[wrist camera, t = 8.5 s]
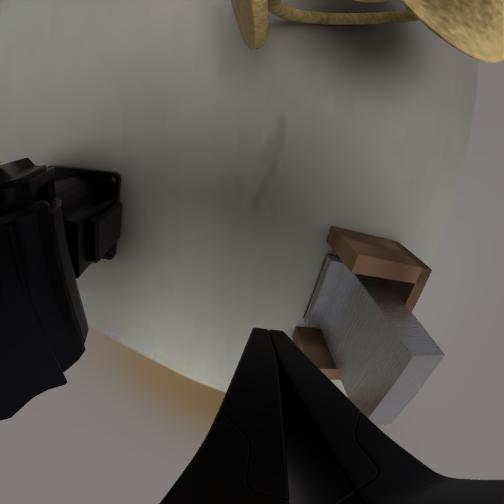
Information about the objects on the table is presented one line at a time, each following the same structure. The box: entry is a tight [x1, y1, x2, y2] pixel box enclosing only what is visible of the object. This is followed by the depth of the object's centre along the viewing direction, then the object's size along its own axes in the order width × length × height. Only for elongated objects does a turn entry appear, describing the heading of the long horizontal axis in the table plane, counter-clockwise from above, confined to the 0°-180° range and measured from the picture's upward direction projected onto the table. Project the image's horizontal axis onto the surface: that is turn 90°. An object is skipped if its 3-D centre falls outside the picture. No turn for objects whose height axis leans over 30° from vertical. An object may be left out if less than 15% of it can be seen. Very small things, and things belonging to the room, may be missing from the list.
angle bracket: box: [304, 255, 444, 426], centre depth 18 cm, size 5×6×11 cm
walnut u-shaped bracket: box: [292, 226, 432, 380], centre depth 21 cm, size 6×10×5 cm, turn 167°
